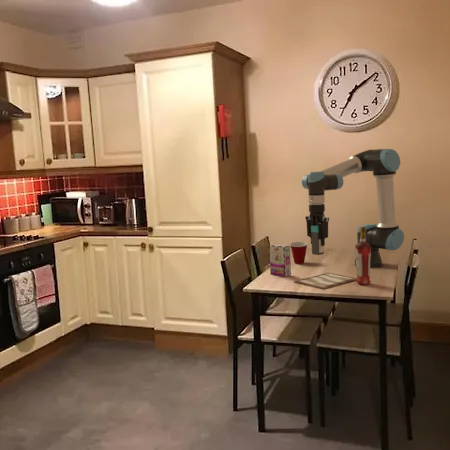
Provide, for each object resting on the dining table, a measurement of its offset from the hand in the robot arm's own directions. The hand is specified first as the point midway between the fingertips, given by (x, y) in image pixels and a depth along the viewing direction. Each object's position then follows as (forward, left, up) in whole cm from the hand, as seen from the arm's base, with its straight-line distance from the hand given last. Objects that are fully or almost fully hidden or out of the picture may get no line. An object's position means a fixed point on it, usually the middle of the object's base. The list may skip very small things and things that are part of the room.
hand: (317, 251), depth 250 cm
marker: (0, 0, -1) cm, 1 cm away
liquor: (-16, +15, -17) cm, 27 cm away
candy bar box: (-2, -29, -17) cm, 34 cm away
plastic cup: (-30, -43, -17) cm, 55 cm away
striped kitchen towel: (-8, -2, -17) cm, 19 cm away
